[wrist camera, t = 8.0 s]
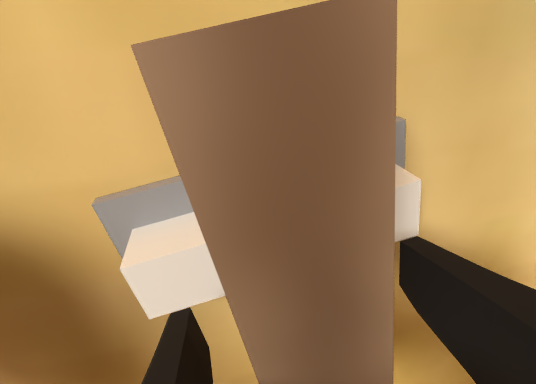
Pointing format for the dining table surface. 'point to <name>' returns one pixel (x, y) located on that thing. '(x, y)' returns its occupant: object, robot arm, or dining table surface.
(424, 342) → the dining table surface
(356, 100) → the walnut bar
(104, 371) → the dining table surface
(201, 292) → the ridge
